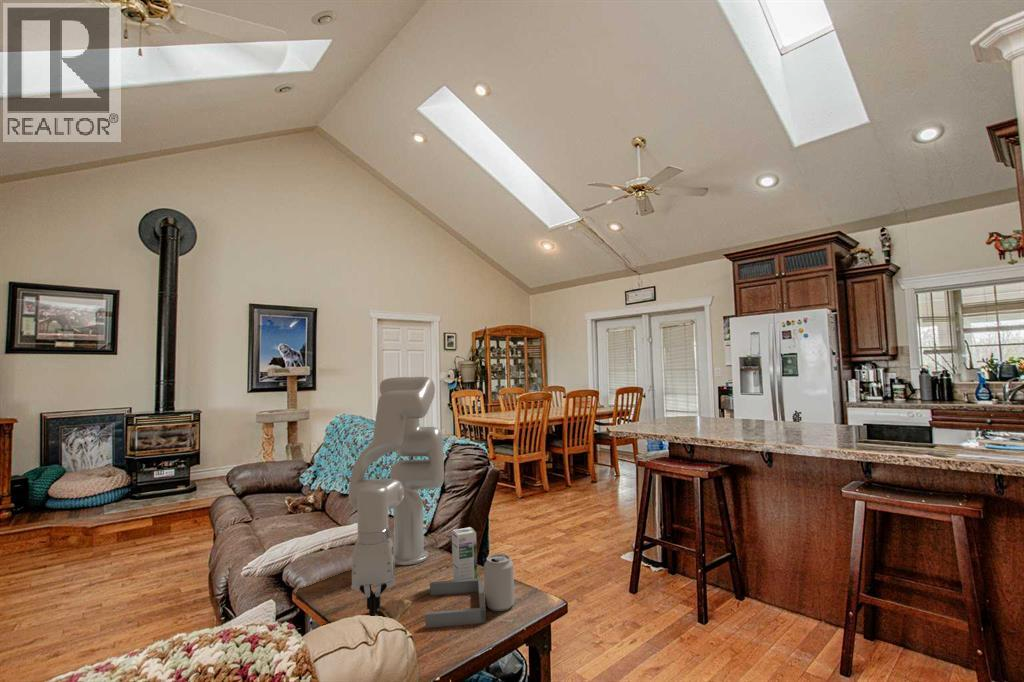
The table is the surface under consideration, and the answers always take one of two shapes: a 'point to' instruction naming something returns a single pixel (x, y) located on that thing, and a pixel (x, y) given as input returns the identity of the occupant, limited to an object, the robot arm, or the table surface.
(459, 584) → the box
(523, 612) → the table surface
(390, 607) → the shard
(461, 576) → the syrup box
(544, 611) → the table surface
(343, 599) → the table surface
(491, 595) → the can
